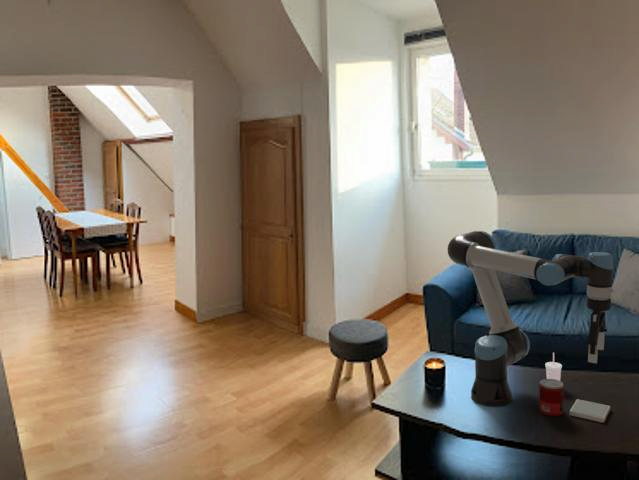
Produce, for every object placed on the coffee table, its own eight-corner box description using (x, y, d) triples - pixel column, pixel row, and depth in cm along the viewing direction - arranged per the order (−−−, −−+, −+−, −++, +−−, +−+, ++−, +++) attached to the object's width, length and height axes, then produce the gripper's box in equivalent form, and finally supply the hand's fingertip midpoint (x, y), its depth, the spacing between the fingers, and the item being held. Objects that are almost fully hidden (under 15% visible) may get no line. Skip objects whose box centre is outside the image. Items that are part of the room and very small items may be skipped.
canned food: (565, 417, 192) (566, 387, 190) (541, 416, 193) (541, 387, 192) (560, 407, 199) (560, 378, 197) (537, 406, 201) (537, 378, 199)
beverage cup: (542, 383, 220) (543, 350, 217) (558, 382, 219) (558, 349, 217) (547, 389, 214) (548, 355, 211) (564, 389, 213) (564, 355, 211)
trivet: (569, 415, 193) (569, 410, 193) (576, 402, 201) (576, 398, 201) (603, 422, 186) (603, 418, 186) (610, 409, 195) (610, 405, 194)
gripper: (605, 308, 175) (601, 370, 178) (616, 289, 194) (613, 346, 198) (579, 305, 179) (577, 365, 183) (593, 287, 199) (590, 342, 202)
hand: (596, 355), depth 190 cm, fingers open, 13 cm apart
